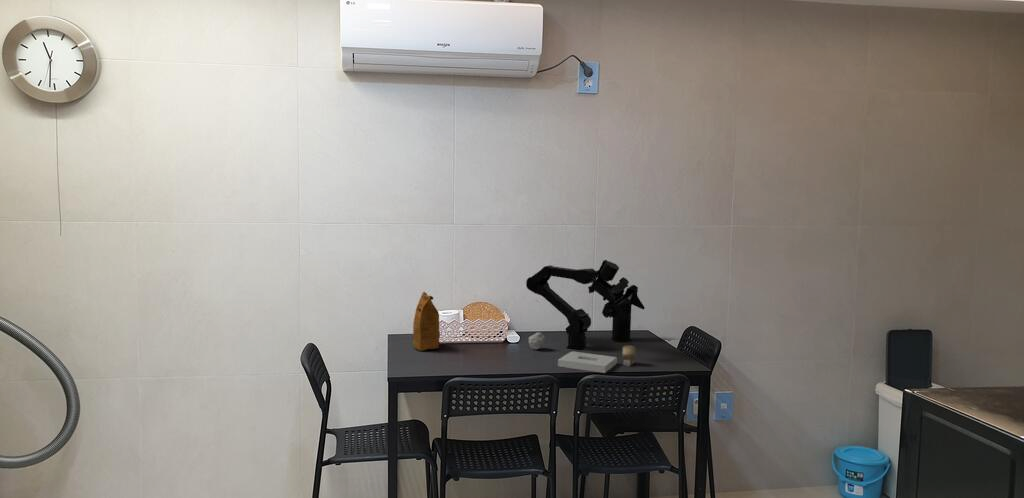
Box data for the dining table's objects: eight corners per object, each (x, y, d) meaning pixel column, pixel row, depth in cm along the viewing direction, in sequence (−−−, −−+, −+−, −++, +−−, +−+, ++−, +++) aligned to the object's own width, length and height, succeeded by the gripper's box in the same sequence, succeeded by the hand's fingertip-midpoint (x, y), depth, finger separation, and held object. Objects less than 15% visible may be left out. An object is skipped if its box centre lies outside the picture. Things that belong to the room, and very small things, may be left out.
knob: (632, 366, 264) (633, 349, 263) (620, 365, 266) (620, 348, 265) (637, 363, 269) (637, 346, 269) (624, 361, 271) (625, 344, 271)
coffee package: (434, 343, 295) (434, 290, 292) (441, 350, 283) (441, 295, 281) (410, 344, 292) (410, 291, 289) (416, 352, 280) (416, 296, 277)
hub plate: (557, 366, 263) (558, 359, 263) (571, 357, 275) (571, 351, 275) (604, 372, 255) (605, 366, 255) (616, 363, 268) (616, 357, 267)
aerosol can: (618, 343, 300) (620, 296, 298) (607, 338, 308) (608, 292, 306) (634, 341, 304) (636, 294, 302) (623, 337, 312) (624, 291, 309)
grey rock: (542, 352, 283) (542, 334, 282) (525, 350, 285) (525, 333, 285) (546, 348, 289) (547, 331, 288) (530, 347, 291) (530, 330, 290)
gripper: (596, 285, 271) (628, 310, 264) (625, 265, 282) (657, 288, 275) (589, 306, 278) (620, 330, 271) (618, 285, 289) (649, 308, 282)
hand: (637, 313), depth 275 cm, fingers open, 9 cm apart
